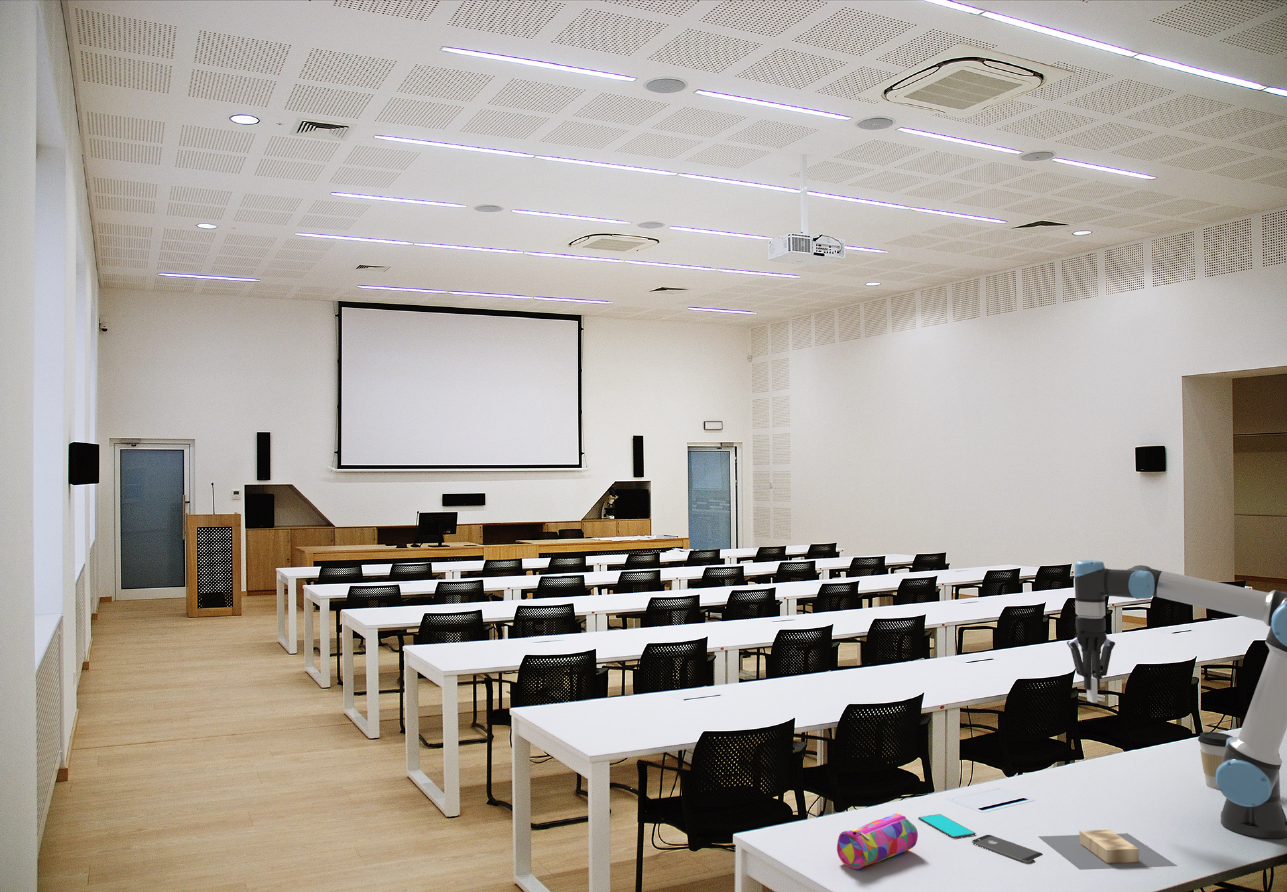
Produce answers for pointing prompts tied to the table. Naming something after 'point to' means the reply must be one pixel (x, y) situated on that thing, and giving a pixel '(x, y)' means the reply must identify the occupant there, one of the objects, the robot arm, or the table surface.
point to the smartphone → (946, 826)
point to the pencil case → (876, 841)
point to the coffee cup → (1212, 754)
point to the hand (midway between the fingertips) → (1092, 701)
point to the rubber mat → (1088, 860)
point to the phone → (1007, 848)
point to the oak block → (1109, 846)
